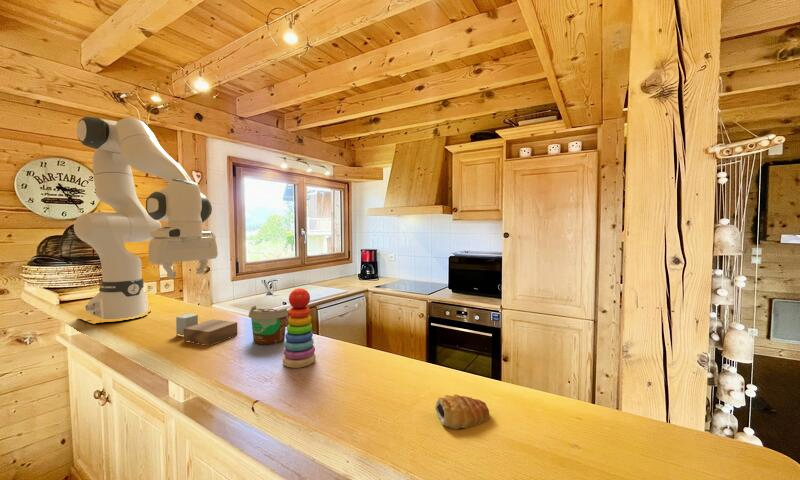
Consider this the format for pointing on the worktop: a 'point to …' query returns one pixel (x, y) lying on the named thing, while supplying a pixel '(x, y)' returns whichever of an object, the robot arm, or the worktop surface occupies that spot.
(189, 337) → the walnut base
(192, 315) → the blue-grey block
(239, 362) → the worktop surface
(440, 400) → the pastry
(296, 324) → the stacking toy
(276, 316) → the food container
